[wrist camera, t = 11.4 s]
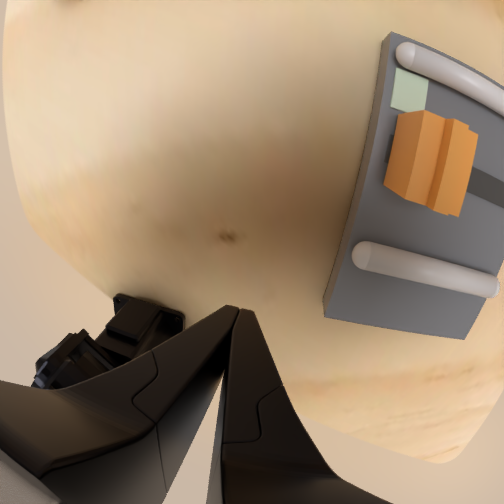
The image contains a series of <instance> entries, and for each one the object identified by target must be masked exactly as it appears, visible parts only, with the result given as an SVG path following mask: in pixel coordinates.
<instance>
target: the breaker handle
mask: <svg viewBox="0 0 504 504" xmlns="http://www.w3.org/2000/svg"><path fill="white" fill-rule="evenodd" d="M468 129H469V125H467V124H465V123H463V122H461V121H459V120H457V119H454V118H453V119H445V118H443V117H441V116H438V115H436V114H434V113H431V112H429V111H426V110H420V111H414V112H408V113H402V114H398V119H397V124H396V130H395V135H394V140H393V144H392V149H391V154H390V158H389V163H388V167H387V171H386V175H385V179H384V183H383V185H384V186H386V187H387V188H389V189H390V190H392V191H393V192H395V193H396V194H398V195H399V196H401V197H402V198H404V199H406V200H409V201H412V202H415V203H419V204H422V205H425V206H427V207H428V208H430V209H431V210H433V211H436V212H439V213H442V214H445V215H447V216H448V214H451V215H454V216H457V217H459V214H460V211H461V207H462V204H463V200H464V197H465V193H466V189H467V186H468V182H469V178H470V173H471V169H472V165H473V160H474V155H475V150H476V145H477V139H478V134H476V133H474V132H472V131H470V130H468Z"/></svg>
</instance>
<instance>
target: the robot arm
mask: <svg viewBox="0 0 504 504" xmlns="http://www.w3.org/2000/svg"><path fill="white" fill-rule="evenodd" d="M118 299H119V300H120V301H119V300H118ZM113 302H114V311H115V316H114V317H113V318H112V319H111V320H110V321H109V322H108V323H107V325H106V328H105V329H104V330H103V332H102V333H101V334H100V335H99V336H98V337H97V338H96V339H95V341H94V340H93V339H92V338H91V337H90V336H89V335H88V334H89V333H87V331H86V330H85V329H82V330H81V331H80V332H79V333H78V334H76V333H74V334H72V333H69V334H68V335H67V336H66V337H65V338H64V339H63V340H62V341H61V342H60V343H59V344H58V345H57V346H56V347H54V348H53V349H51V350H50V351H49V352H47V353H46V354H44V355H43V356H42V357H40V358H39V359H38V361H37V362H36V375H35V377H34V379H35V380H34V382H33V383H32V385H31V387H28V386H23V385H19V384H14V383H10V382H5V381H1V380H0V504H162V503H163V501H164V499H165V497H166V495H167V494H166V493H168V491H169V489H170V487H171V485H172V482H173V480H174V478H175V477H176V474H177V472H178V470H179V468H180V466H181V464H182V462H183V460H184V458H185V456H186V454H187V452H188V449H189V447H190V445H191V443H192V441H193V439H194V437H195V435H196V433H197V431H198V429H199V426H200V424H201V422H202V420H203V418H204V416H205V414H206V411H207V409H208V407H209V405H210V403H211V401H212V399H213V396H214V394H215V392H216V390H217V388H218V385H219V383H220V381H221V378H222V376H223V380H222V387H221V394H220V402H219V409H218V417H217V424H216V431H215V439H214V446H213V454H212V462H211V470H210V477H209V486H208V493H207V502H206V504H393V503H390V502H388V501H386V500H383V499H381V498H379V497H377V496H375V495H373V494H371V493H369V492H366V491H364V490H362V489H360V488H358V487H356V486H354V485H353V484H351V483H349V482H347V481H345V480H343V479H342V478H341V477H339V476H338V475H337V474H336V473H335V472H334V471H333V470H332V469H331V468H330V467H329V466H328V464H327V463H326V462H325V460H324V458H323V457H322V455H321V453H320V452H319V450H318V449H317V447H316V445H315V444H314V442H313V441H312V439H311V438H310V436H309V434H308V433H307V431H306V429H305V428H304V426H303V424H302V423H301V421H300V419H299V417H298V416H297V414H296V412H295V410H294V408H293V406H292V404H291V402H290V399H289V397H288V395H287V392H286V390H285V387H284V386H283V383H282V380H281V378H280V375H279V373H278V371H277V368H276V366H275V363H274V361H273V358H272V356H271V353H270V351H269V348H268V346H267V343H266V341H265V338H264V336H263V333H262V331H261V328H260V325H259V323H258V320H257V318H256V315H255V313H254V311H251V310H247V309H239V308H238V307H235V306H231V305H225V306H223V307H222V308H220V309H219V310H217V311H215V312H214V313H212V314H210V315H209V316H207V317H205V318H204V319H202V320H200V321H199V322H197V323H195V324H194V325H192V326H190V327H189V328H187V329H185V316H184V315H183V314H182V313H180V312H177V311H174V310H170V309H167V308H164V307H160V306H157V305H153V304H150V303H147V302H144V301H140V300H137V299H134V298H131V297H128V296H125V295H121V294H117V295H116V296H114V298H113ZM176 317H178V318H179V319H180V320H179V319H177V318H176ZM184 329H185V330H184ZM223 373H224V375H223Z"/></svg>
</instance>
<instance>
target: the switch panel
mask: <svg viewBox="0 0 504 504" xmlns="http://www.w3.org/2000/svg"><path fill="white" fill-rule="evenodd" d="M420 110H426V111H429V112H431V113H434V114H436V115H438V116H441V117H443V118H445V119H453V118H454V119H457V120H459V121H461V122H463V123H465V124H467V125H469V129H468V130H470V131H472V132H474V133H476V134H478V139H477V145H476V150H475V155H474V160H473V165H472V169H471V173H470V178H469V182H468V186H467V189H466V193H465V197H464V200H463V204H462V207H461V211H460V214H459V217H457V216H454V215H451V214H448V216H447V215H445V214H442V213H439V212H436V211H433V210H431V209H430V208H428V207H427V206H425V205H422V204H419V203H415V202H412V201H409V200H406V199H404V198H402V197H401V196H399V195H398V194H396V193H395V192H393V191H392V190H390V189H389V188H387V187H386V186H384V185H383V183H384V179H385V175H386V171H387V167H388V163H389V158H390V154H391V149H392V144H393V140H394V135H395V130H396V124H397V119H398V114H402V113H408V112H414V111H420ZM503 260H504V87H503V86H502V85H500V84H499V83H497V82H495V81H494V80H492V79H491V78H489V77H487V76H486V75H484V74H482V73H481V72H479V71H477V70H475V69H474V68H472V67H470V66H468V65H466V64H464V63H463V62H461V61H459V60H457V59H455V58H453V57H451V56H449V55H447V54H445V53H443V52H440V51H438V50H436V49H434V48H432V47H429V46H427V45H425V44H422V43H420V42H417V41H415V40H412V39H410V38H407V37H405V36H402V35H399V34H396V33H394V32H390V33H389V34H388V35H387V37H386V38H385V39H384V40H383V41H382V48H381V56H380V63H379V71H378V77H377V84H376V90H375V96H374V102H373V108H372V113H371V118H370V124H369V129H368V134H367V139H366V143H365V148H364V153H363V157H362V162H361V166H360V171H359V175H358V179H357V183H356V187H355V191H354V195H353V199H352V203H351V207H350V211H349V215H348V218H347V222H346V226H345V229H344V233H343V237H342V240H341V243H340V247H339V250H338V254H337V257H336V260H335V264H334V267H333V270H332V273H331V277H330V280H329V283H328V286H327V289H326V292H325V295H324V298H323V311H324V317H327V318H332V319H337V320H342V321H347V322H353V323H358V324H364V325H370V326H375V327H381V328H387V329H393V330H399V331H406V332H412V333H419V334H425V335H432V336H439V337H447V338H454V339H462V340H464V339H465V338H466V336H467V334H468V333H469V331H470V329H471V327H472V325H473V324H474V322H475V320H476V318H477V316H478V314H479V312H480V310H481V309H482V307H483V305H484V303H485V301H486V298H493V297H495V296H496V295H497V294H498V292H499V290H500V282H499V280H498V278H497V274H498V272H499V270H500V267H501V265H502V262H503Z"/></svg>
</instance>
